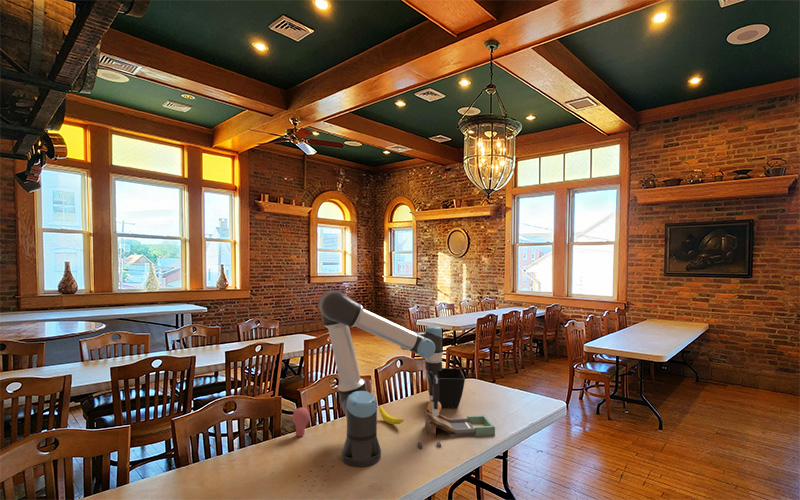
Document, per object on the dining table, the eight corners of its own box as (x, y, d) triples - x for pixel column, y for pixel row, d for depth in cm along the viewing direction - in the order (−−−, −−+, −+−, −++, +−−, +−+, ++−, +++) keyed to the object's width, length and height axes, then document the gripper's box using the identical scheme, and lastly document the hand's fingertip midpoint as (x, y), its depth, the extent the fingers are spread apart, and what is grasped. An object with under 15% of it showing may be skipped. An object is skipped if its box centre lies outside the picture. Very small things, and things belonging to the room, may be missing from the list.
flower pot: (465, 411, 197) (465, 378, 198) (428, 411, 197) (428, 377, 198) (460, 398, 216) (460, 368, 217) (426, 398, 216) (426, 367, 217)
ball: (429, 416, 171) (429, 402, 171) (426, 411, 177) (426, 398, 177) (442, 415, 171) (442, 402, 171) (439, 410, 177) (439, 397, 177)
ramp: (429, 437, 167) (429, 418, 168) (424, 425, 179) (424, 408, 179) (456, 436, 169) (456, 417, 169) (450, 424, 181) (450, 407, 181)
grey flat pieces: (419, 448, 157) (419, 445, 157) (418, 445, 160) (418, 442, 160) (441, 447, 158) (441, 444, 158) (439, 444, 161) (439, 441, 161)
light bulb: (312, 435, 168) (312, 407, 169) (298, 441, 163) (298, 412, 163) (303, 431, 173) (303, 403, 174) (289, 436, 168) (289, 408, 168)
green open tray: (475, 435, 169) (475, 427, 169) (467, 423, 182) (467, 416, 182) (494, 435, 170) (494, 426, 170) (485, 422, 183) (485, 415, 183)
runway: (454, 436, 168) (454, 429, 169) (448, 424, 180) (448, 418, 180) (476, 435, 170) (476, 428, 170) (468, 424, 182) (468, 417, 182)
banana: (401, 431, 173) (401, 417, 173) (376, 418, 188) (376, 405, 188) (406, 429, 175) (406, 415, 175) (381, 416, 190) (381, 403, 190)
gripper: (446, 366, 166) (446, 421, 165) (437, 355, 184) (437, 405, 184) (429, 366, 165) (429, 421, 164) (422, 356, 184) (422, 405, 183)
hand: (433, 412), depth 174 cm, fingers closed on ball, 6 cm apart
